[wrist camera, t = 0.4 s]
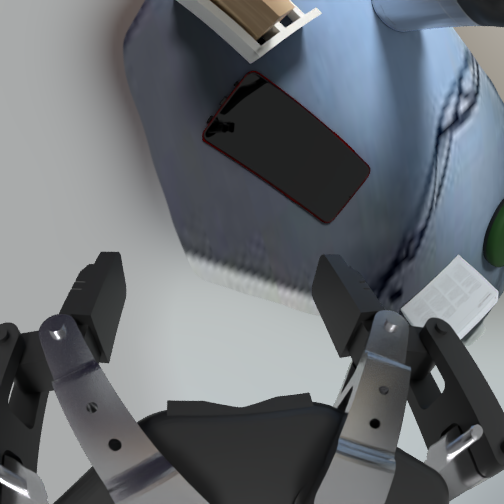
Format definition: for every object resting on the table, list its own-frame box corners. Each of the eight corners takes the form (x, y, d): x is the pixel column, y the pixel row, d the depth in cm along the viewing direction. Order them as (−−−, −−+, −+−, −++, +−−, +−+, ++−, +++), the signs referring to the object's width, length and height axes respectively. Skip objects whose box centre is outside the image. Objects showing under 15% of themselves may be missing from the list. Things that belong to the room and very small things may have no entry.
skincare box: (405, 317, 65) (436, 361, 51) (399, 308, 62) (433, 354, 49) (461, 265, 60) (499, 301, 46) (458, 253, 57) (499, 290, 44)
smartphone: (250, 65, 31) (374, 170, 42) (248, 66, 33) (369, 167, 43) (196, 137, 35) (328, 227, 46) (196, 136, 37) (325, 223, 47)
